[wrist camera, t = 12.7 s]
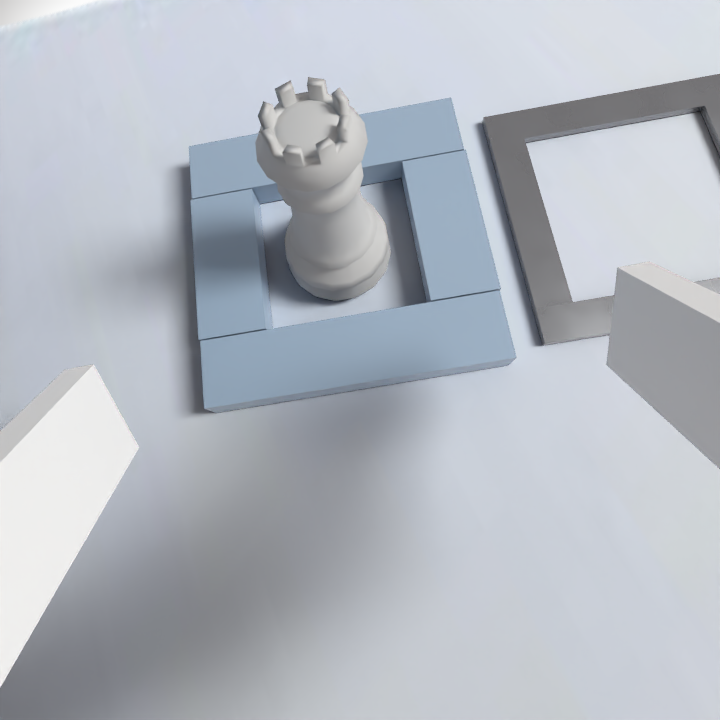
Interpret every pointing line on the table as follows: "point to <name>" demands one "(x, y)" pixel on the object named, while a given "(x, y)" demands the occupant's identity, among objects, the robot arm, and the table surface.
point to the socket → (356, 332)
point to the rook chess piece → (323, 190)
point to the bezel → (526, 206)
